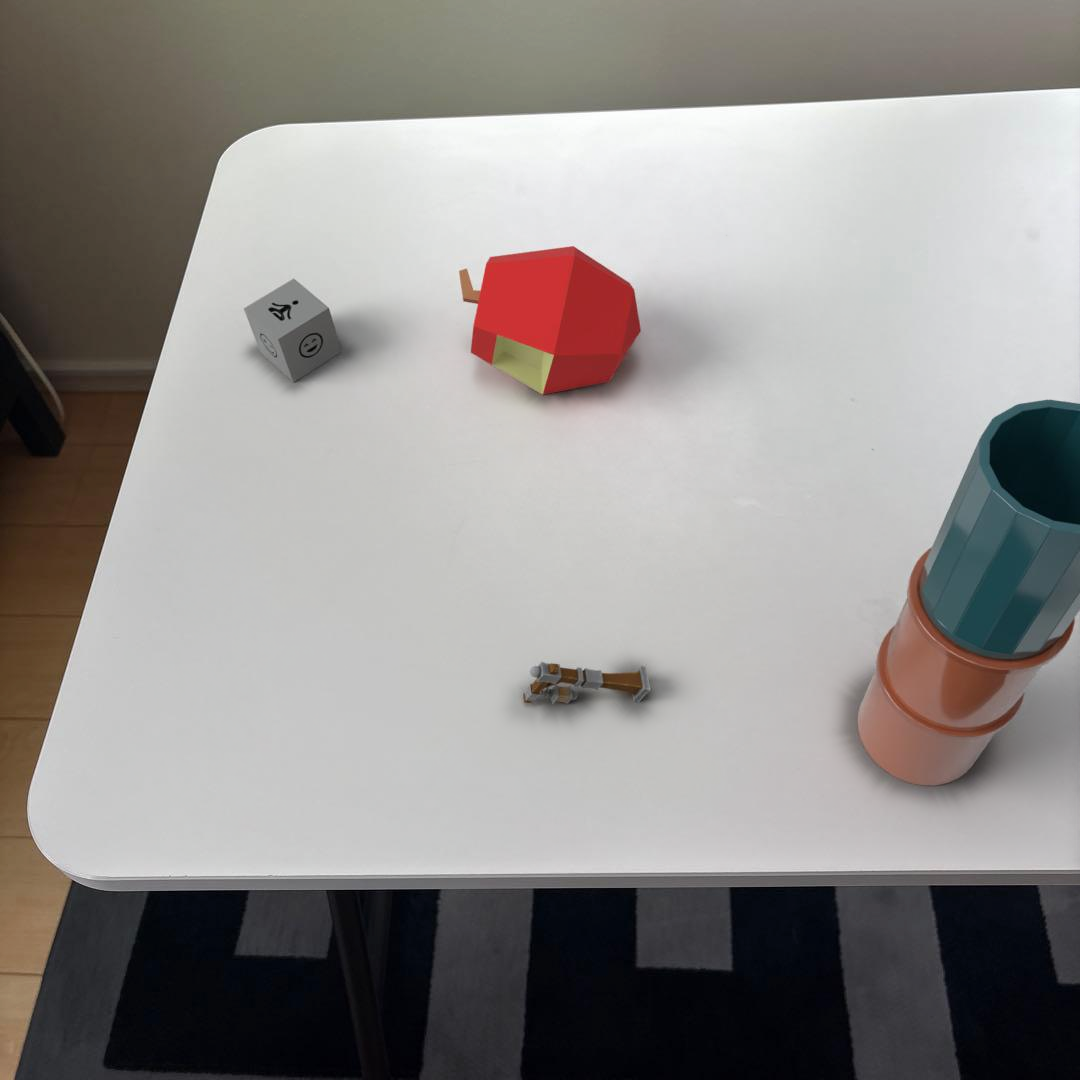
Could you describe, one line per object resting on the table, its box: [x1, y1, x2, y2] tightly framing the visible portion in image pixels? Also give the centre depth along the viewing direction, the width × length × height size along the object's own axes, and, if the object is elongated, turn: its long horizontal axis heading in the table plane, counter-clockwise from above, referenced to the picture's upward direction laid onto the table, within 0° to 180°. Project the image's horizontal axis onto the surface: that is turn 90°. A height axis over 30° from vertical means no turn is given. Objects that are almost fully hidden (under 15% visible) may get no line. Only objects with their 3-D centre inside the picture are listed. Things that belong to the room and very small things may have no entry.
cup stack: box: [857, 546, 1076, 786], centre depth 61 cm, size 8×8×16 cm
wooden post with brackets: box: [522, 661, 651, 705], centre depth 70 cm, size 2×8×4 cm, turn 95°
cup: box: [920, 399, 1080, 659], centre depth 50 cm, size 7×7×11 cm
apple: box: [458, 245, 642, 396], centre depth 83 cm, size 12×12×15 cm
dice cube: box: [243, 278, 343, 383], centre depth 88 cm, size 5×5×5 cm
